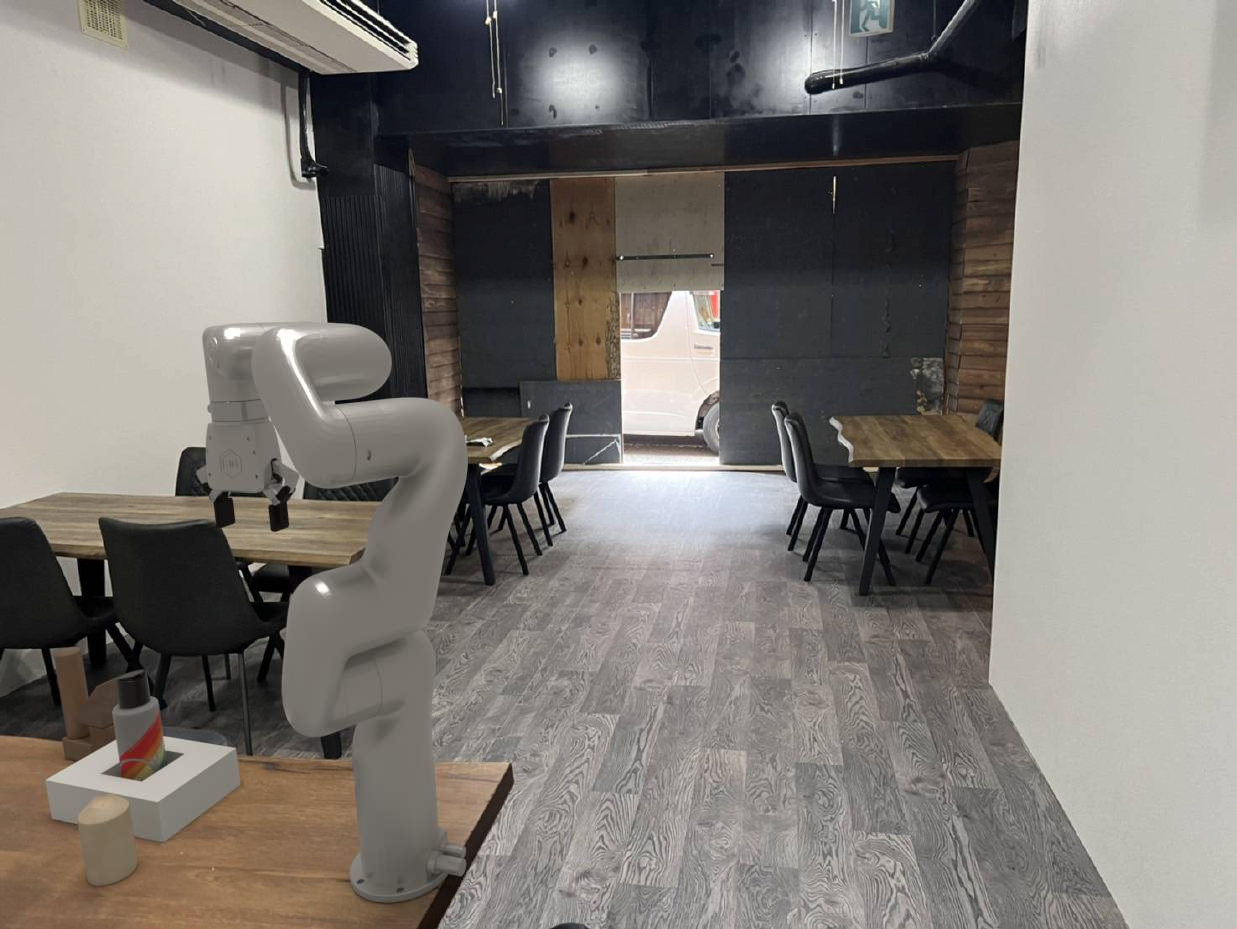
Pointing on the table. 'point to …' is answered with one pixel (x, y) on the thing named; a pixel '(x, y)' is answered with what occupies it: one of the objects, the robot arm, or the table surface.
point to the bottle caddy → (149, 786)
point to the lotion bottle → (138, 727)
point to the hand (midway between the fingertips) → (252, 527)
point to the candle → (107, 840)
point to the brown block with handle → (84, 707)
